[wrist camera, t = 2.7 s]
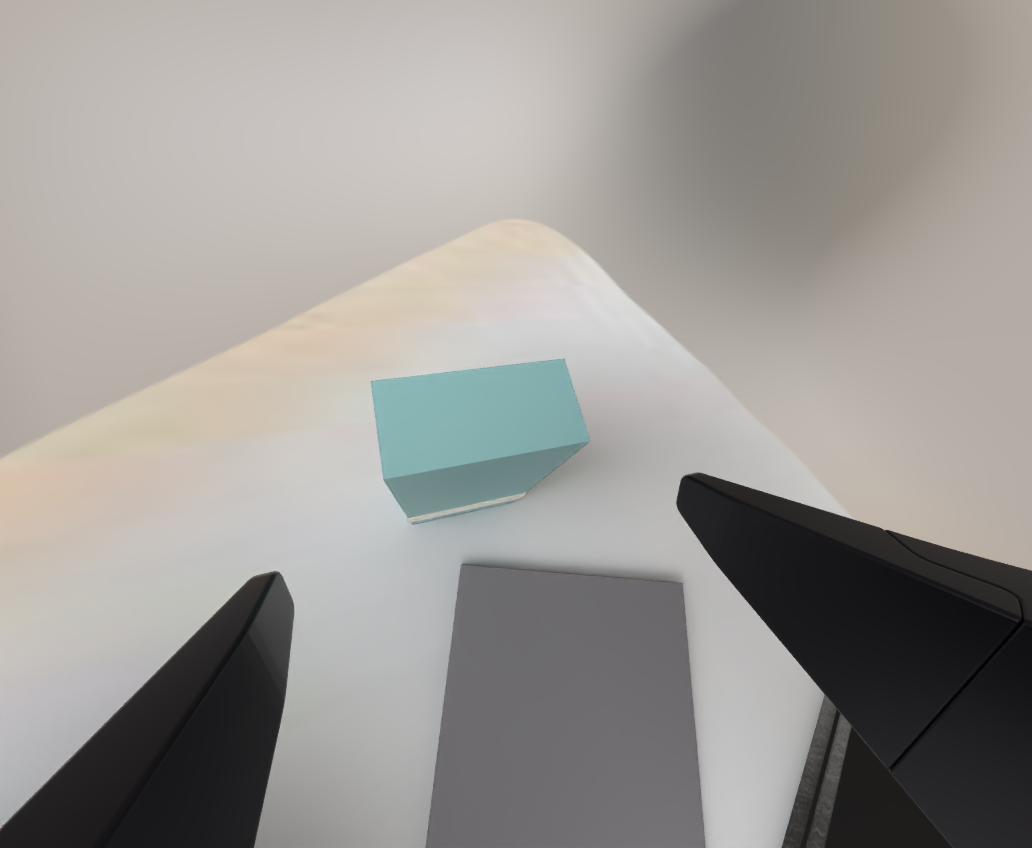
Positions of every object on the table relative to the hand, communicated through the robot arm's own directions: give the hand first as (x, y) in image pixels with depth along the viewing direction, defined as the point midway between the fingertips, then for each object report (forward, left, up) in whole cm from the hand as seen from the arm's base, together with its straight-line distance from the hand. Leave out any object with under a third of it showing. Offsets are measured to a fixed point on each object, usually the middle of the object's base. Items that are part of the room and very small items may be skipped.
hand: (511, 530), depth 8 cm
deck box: (+3, +1, -10) cm, 10 cm away
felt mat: (-7, -5, -10) cm, 13 cm away
